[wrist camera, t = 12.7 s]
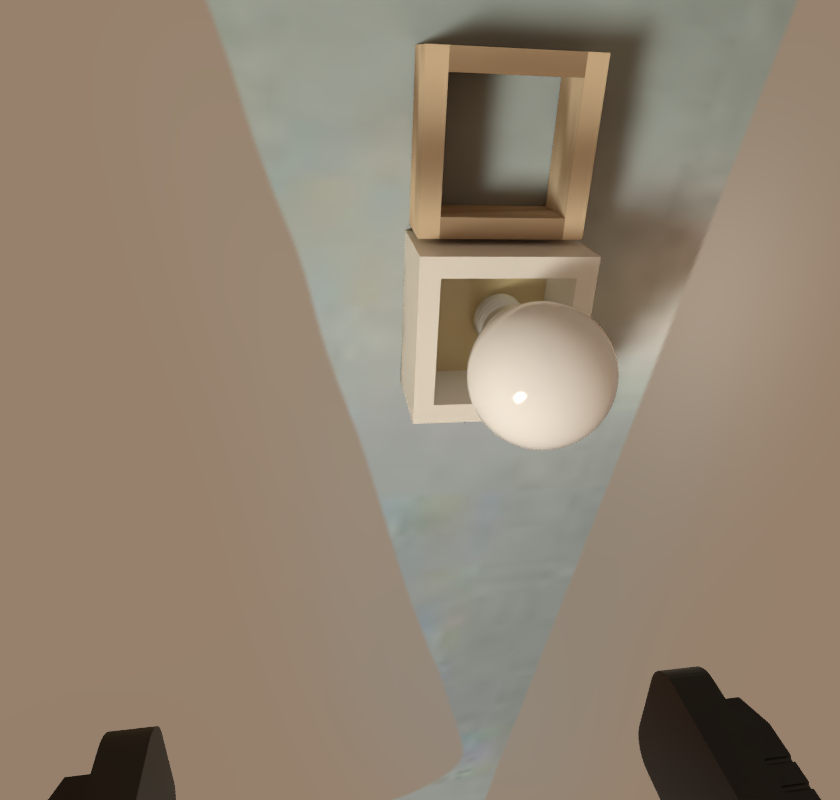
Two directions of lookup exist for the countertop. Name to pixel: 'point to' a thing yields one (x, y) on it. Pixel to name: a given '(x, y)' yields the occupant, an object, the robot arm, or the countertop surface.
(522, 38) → the countertop surface
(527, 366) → the lightbulb
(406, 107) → the countertop surface
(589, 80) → the wooden frame
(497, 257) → the cream open cubby box
